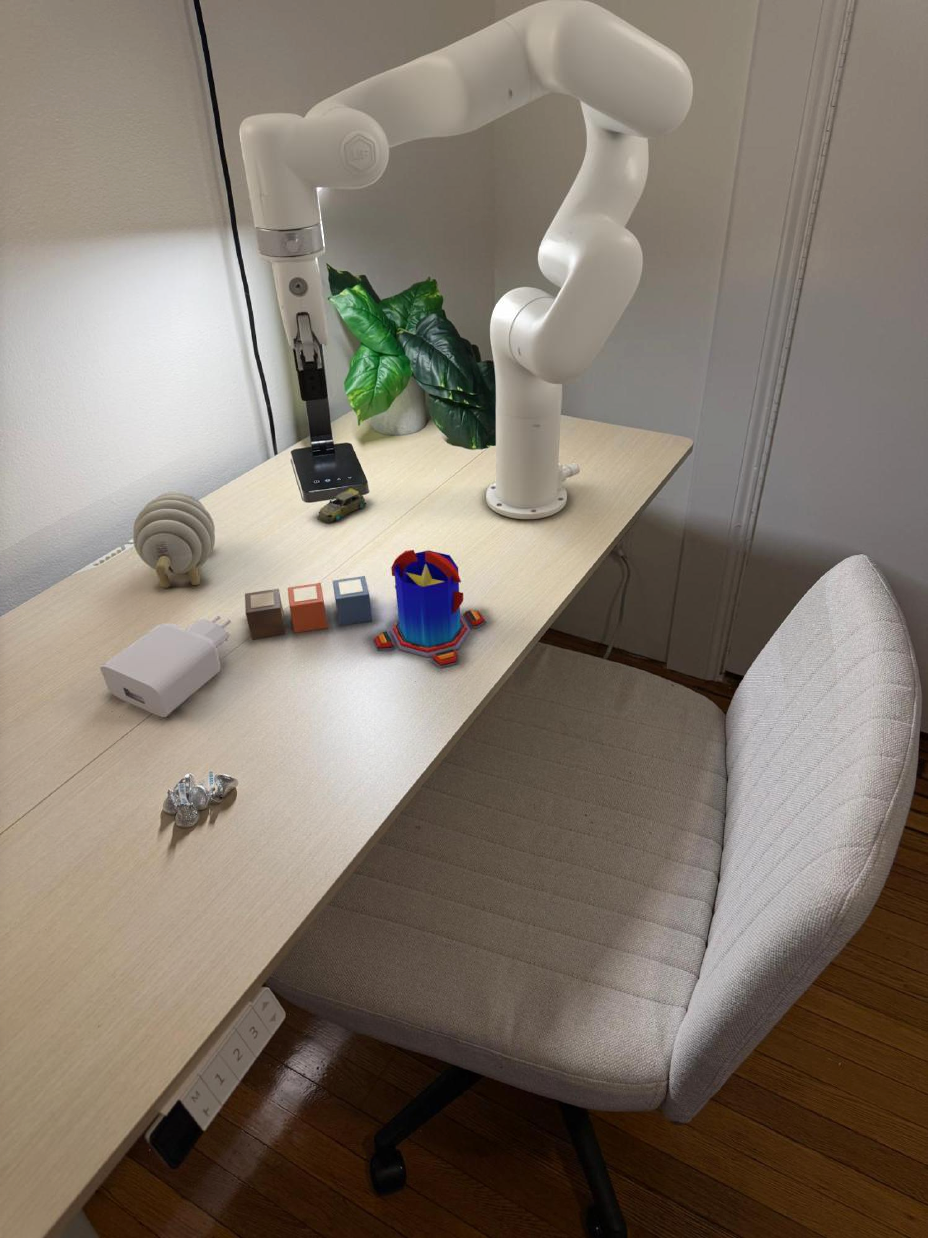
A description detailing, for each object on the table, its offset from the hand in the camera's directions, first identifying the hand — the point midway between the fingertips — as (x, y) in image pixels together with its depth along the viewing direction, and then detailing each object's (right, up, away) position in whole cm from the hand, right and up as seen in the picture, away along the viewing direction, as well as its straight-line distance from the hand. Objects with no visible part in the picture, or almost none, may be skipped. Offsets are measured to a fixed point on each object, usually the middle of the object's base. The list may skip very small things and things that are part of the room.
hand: (311, 384), depth 104 cm
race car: (0, -13, +23) cm, 26 cm away
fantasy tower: (+15, -32, -2) cm, 35 cm away
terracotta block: (0, -30, +1) cm, 30 cm away
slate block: (+5, -29, +2) cm, 30 cm away
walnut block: (-6, -31, 0) cm, 31 cm away
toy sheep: (-20, -23, +11) cm, 33 cm away
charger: (-14, -36, -6) cm, 39 cm away
